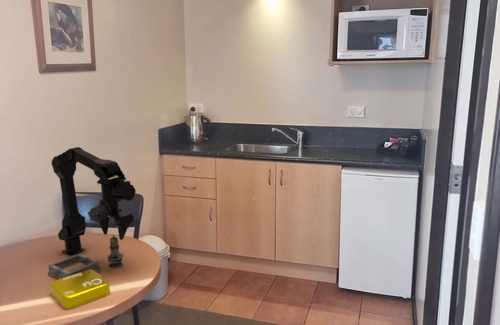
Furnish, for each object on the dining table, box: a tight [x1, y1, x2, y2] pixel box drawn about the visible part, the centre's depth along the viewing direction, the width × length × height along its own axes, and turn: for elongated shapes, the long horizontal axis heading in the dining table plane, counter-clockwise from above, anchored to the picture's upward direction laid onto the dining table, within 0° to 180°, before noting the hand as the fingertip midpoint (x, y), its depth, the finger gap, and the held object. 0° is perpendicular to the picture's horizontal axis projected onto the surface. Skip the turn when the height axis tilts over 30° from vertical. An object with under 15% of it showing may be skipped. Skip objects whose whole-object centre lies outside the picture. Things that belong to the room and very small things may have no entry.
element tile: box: [49, 270, 111, 310], centre depth 145 cm, size 15×15×5 cm
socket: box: [47, 253, 102, 280], centre depth 159 cm, size 13×13×4 cm
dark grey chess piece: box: [106, 234, 124, 269], centre depth 164 cm, size 6×6×12 cm
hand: (113, 237), depth 163 cm, fingers open, 9 cm apart
